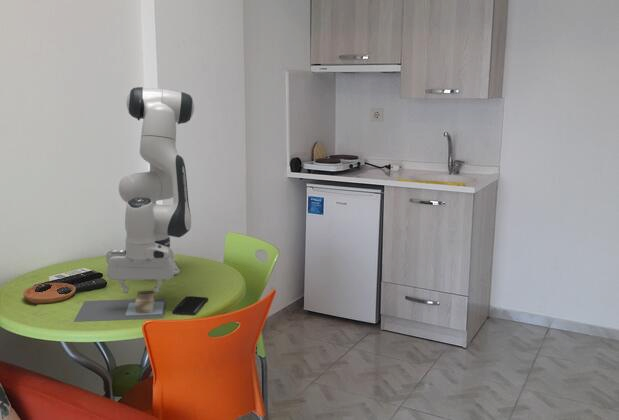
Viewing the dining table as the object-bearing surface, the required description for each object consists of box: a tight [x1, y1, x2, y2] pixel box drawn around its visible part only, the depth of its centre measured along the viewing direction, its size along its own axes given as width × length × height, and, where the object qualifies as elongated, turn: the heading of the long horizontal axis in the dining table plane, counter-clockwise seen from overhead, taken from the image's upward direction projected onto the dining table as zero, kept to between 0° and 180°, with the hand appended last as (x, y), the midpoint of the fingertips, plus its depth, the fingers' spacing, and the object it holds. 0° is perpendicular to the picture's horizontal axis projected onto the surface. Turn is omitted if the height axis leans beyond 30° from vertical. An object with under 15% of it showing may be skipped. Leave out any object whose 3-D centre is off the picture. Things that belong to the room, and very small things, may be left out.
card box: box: [135, 290, 156, 314], centre depth 193 cm, size 5×9×4 cm, turn 10°
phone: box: [171, 295, 209, 317], centre depth 198 cm, size 8×1×15 cm
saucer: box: [22, 282, 76, 305], centre depth 203 cm, size 16×16×3 cm
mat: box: [73, 297, 167, 323], centre depth 193 cm, size 18×26×1 cm
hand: (141, 292), depth 193 cm, fingers open, 8 cm apart
